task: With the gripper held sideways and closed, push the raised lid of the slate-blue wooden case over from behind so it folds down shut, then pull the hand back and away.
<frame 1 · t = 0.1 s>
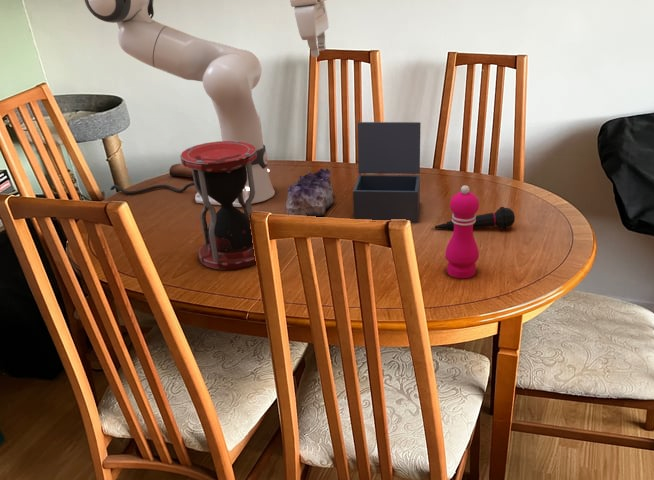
hand: (319, 53, 158), 39 cm above the table, tool pointing down, fingers open, 8 cm apart
hourglass: (234, 255, 146), on the table
sunglasses case: (201, 177, 194), on the table
pepper mill: (461, 272, 136), on the table
geode: (312, 207, 171), on the table
lid: (389, 148, 165), point 15 cm above the table, hinge at 100.0°
case: (387, 212, 166), on the table
microphone: (475, 228, 157), on the table
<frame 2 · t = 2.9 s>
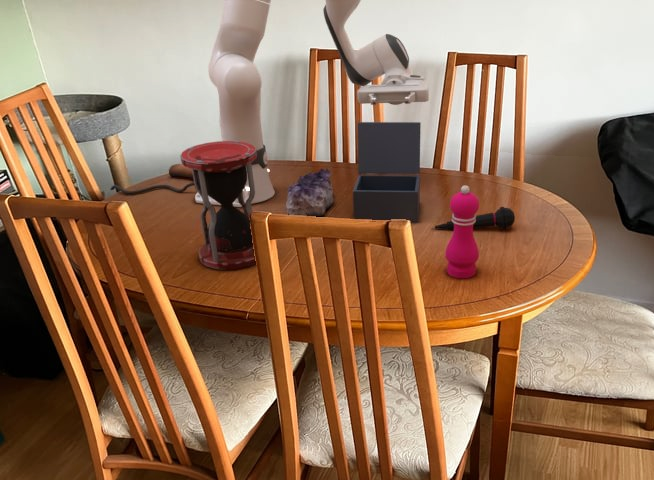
hand: (390, 101, 169), 25 cm above the table, tool horizontal, fingers open, 8 cm apart
nothing on the table moved.
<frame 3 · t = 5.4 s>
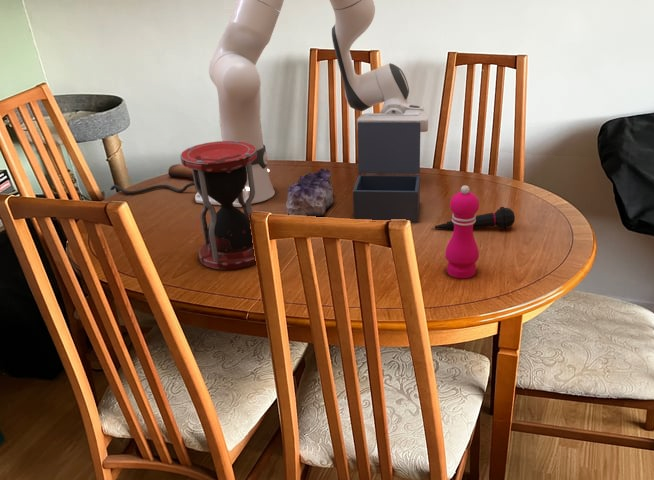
hand: (390, 130, 170), 18 cm above the table, tool horizontal, fingers closed
nothing on the table moved.
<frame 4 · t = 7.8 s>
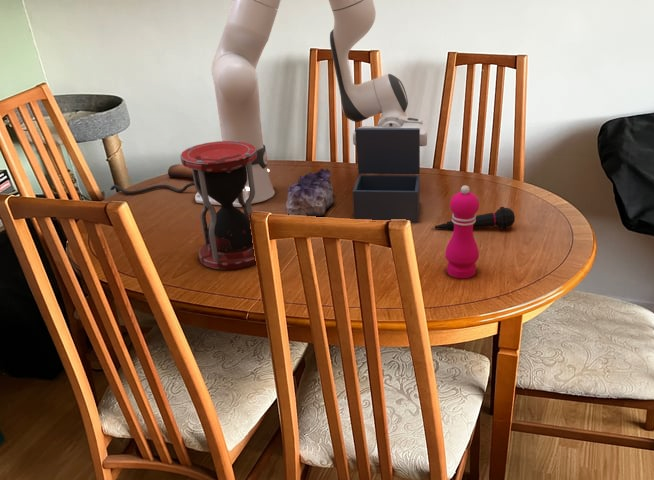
hand: (388, 145, 162), 17 cm above the table, tool horizontal, fingers closed
lid: (388, 151, 163), point 15 cm above the table, hinge at 75.9°, touching gripper
everything else where it was.
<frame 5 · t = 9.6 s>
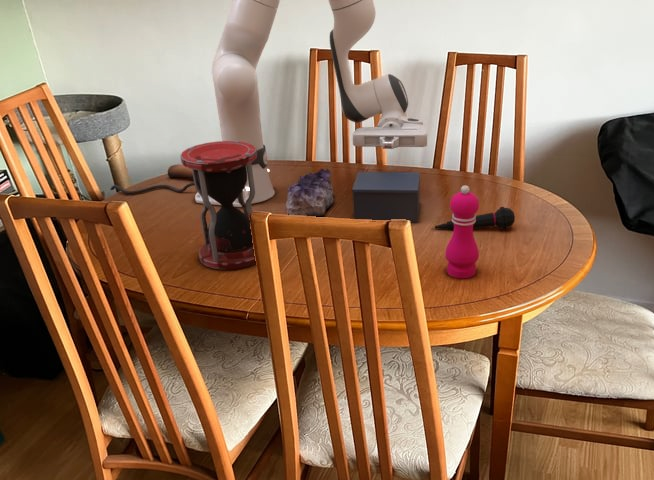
hand: (387, 145, 161), 17 cm above the table, tool horizontal, fingers closed
lid: (387, 181, 162), point 9 cm above the table, hinge at -0.2°
everything else where it was.
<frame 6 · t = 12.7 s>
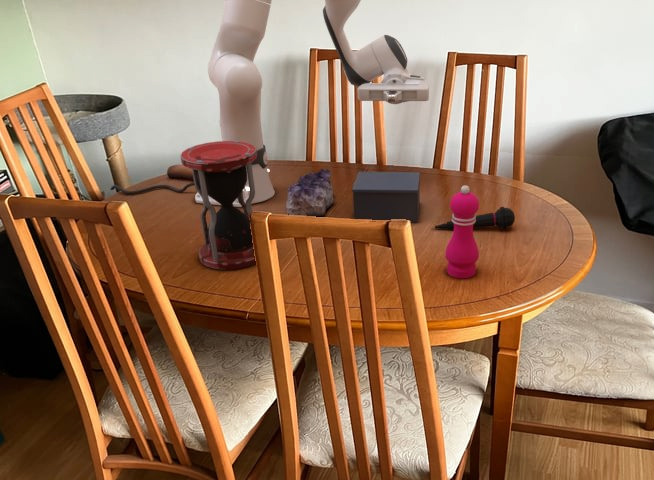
hand: (391, 98, 169), 26 cm above the table, tool horizontal, fingers closed
nothing on the table moved.
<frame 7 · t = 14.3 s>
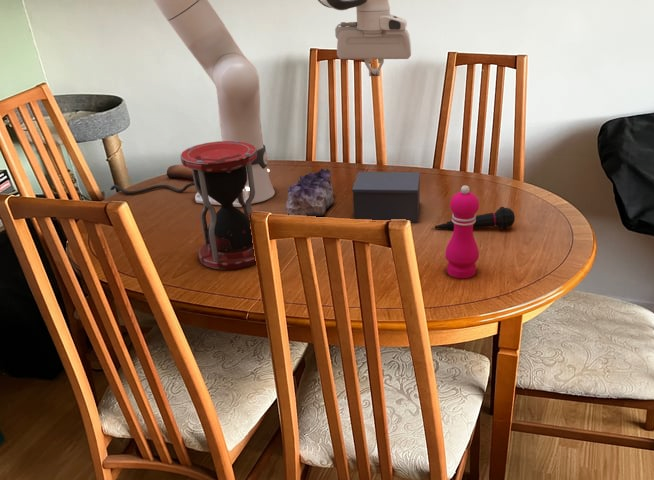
hand: (374, 75, 171), 31 cm above the table, tool pointing down, fingers closed
nothing on the table moved.
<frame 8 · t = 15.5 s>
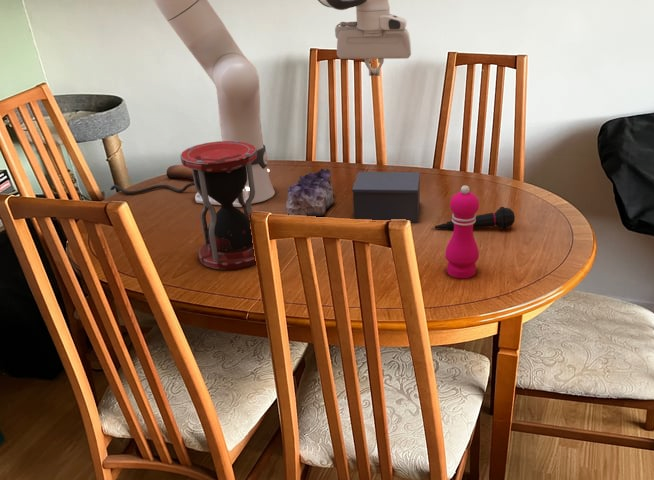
hand: (374, 75, 171), 31 cm above the table, tool pointing down, fingers closed
nothing on the table moved.
at the end: lid at +0° (first picture: +100°); geode moved 0.2 cm from its start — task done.
